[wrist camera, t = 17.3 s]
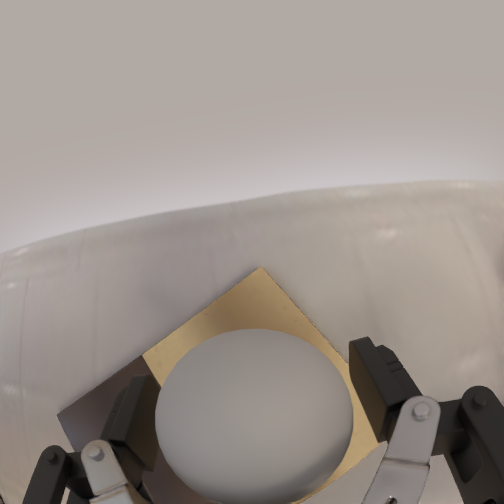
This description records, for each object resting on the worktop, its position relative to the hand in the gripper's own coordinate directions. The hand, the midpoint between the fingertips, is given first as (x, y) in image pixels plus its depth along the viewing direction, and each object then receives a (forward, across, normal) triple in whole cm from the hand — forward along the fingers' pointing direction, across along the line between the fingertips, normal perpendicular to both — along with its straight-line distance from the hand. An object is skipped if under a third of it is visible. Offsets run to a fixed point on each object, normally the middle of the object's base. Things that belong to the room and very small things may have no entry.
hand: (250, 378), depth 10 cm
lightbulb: (+3, 0, +5) cm, 6 cm away
